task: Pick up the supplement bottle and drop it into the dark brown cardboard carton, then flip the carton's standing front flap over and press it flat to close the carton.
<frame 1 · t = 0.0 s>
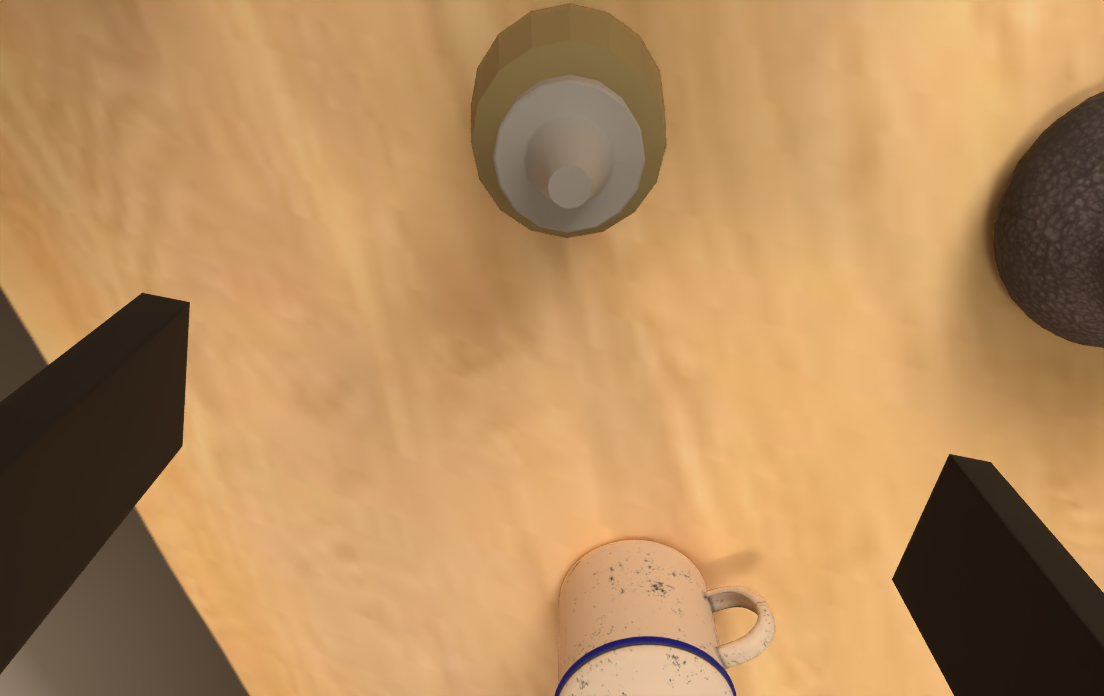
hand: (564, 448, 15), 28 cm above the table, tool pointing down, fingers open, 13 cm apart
teacup with lid: (655, 586, 51), on the table
squeeze bottle: (567, 95, 40), on the table
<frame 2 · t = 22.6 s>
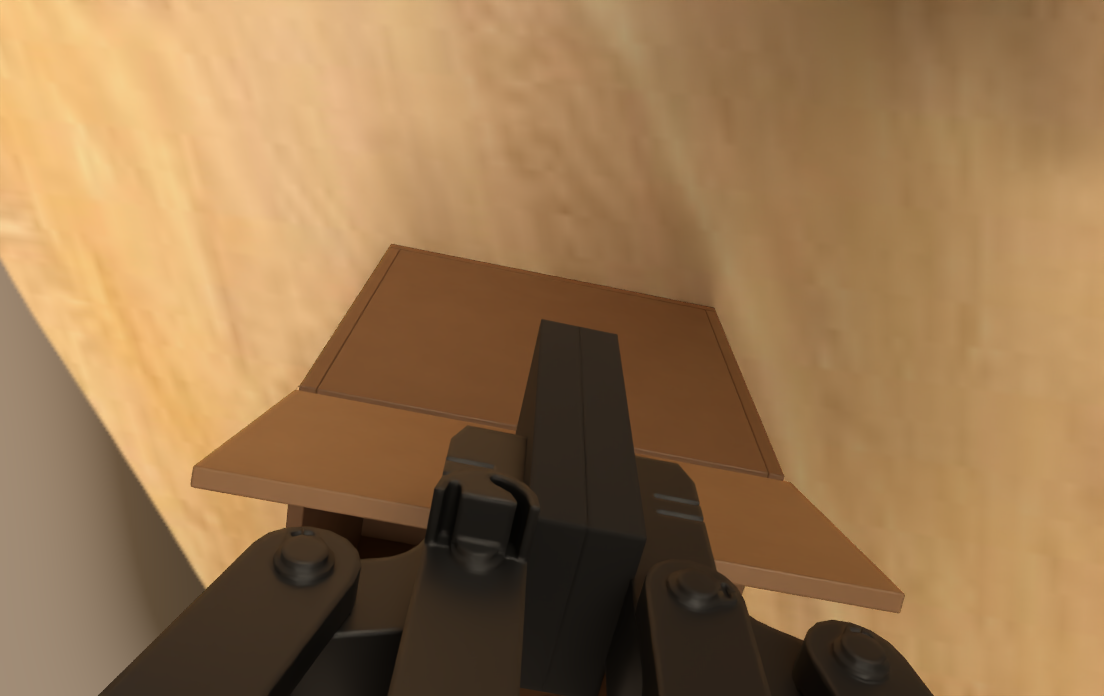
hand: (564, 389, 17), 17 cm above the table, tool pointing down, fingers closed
flap: (550, 484, 19), point 16 cm above the table, hinge at 105.5°, touching gripper
carton: (521, 428, 37), on the table
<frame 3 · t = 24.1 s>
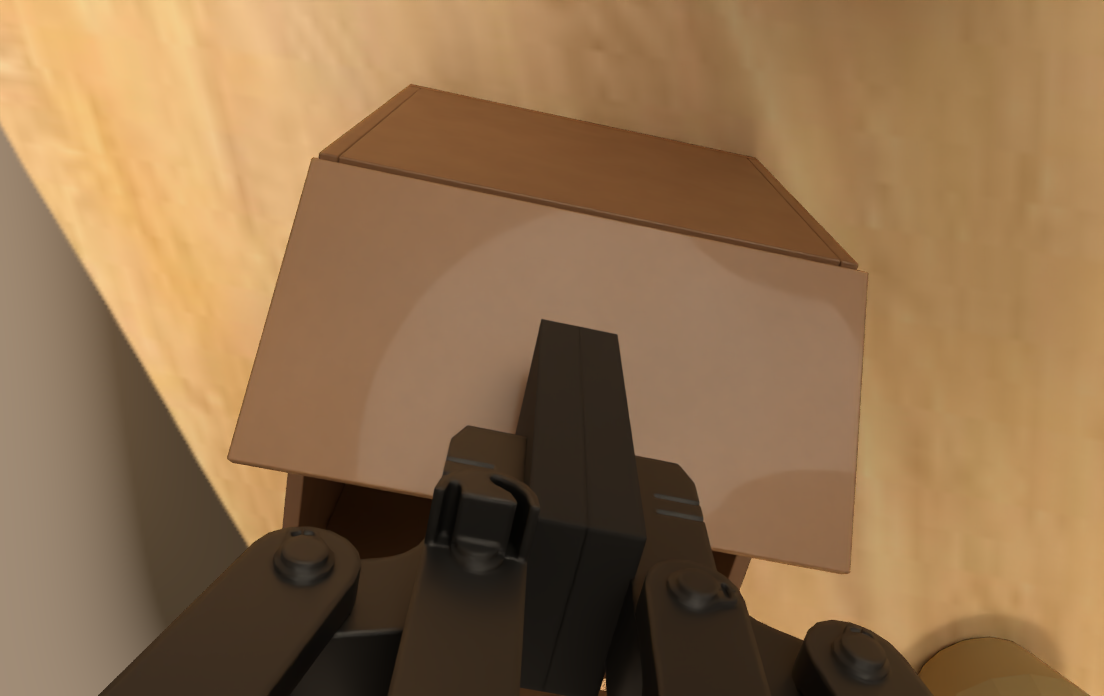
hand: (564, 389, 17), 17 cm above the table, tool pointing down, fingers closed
flap: (571, 360, 19), point 15 cm above the table, hinge at 40.9°, touching gripper
squeeze bottle: (972, 678, 42), on the table
carton: (547, 297, 35), on the table
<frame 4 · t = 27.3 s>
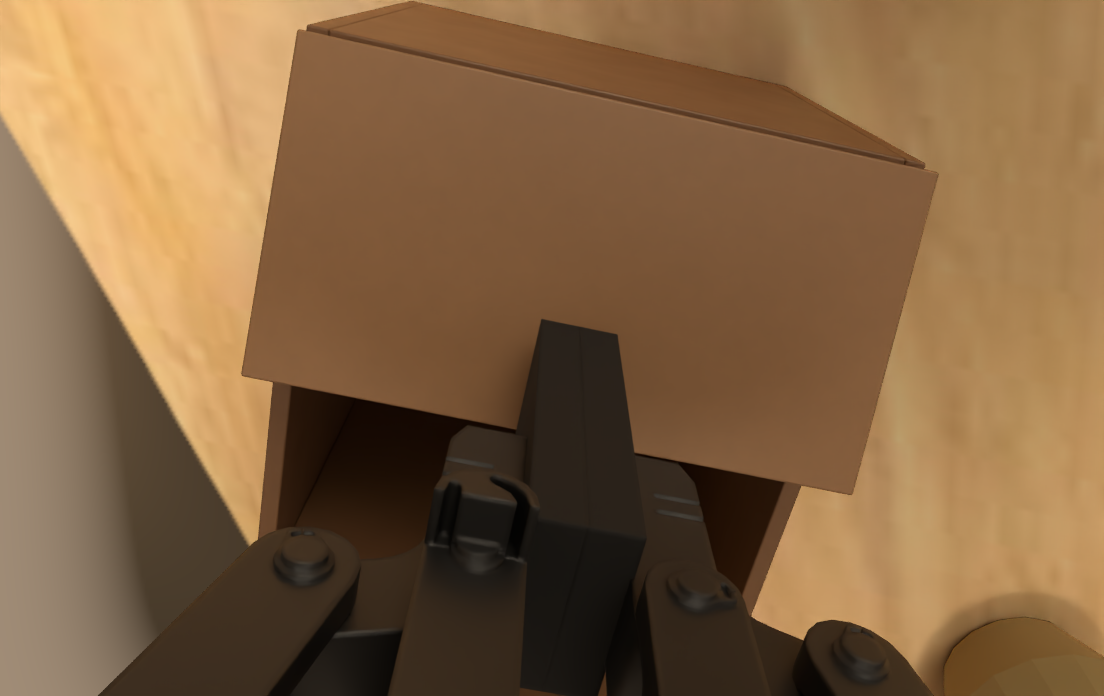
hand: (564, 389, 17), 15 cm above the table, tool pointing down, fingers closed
flap: (588, 273, 18), point 14 cm above the table, hinge at 15.3°, touching gripper
squeeze bottle: (1005, 662, 40), on the table
carton: (557, 241, 32), on the table
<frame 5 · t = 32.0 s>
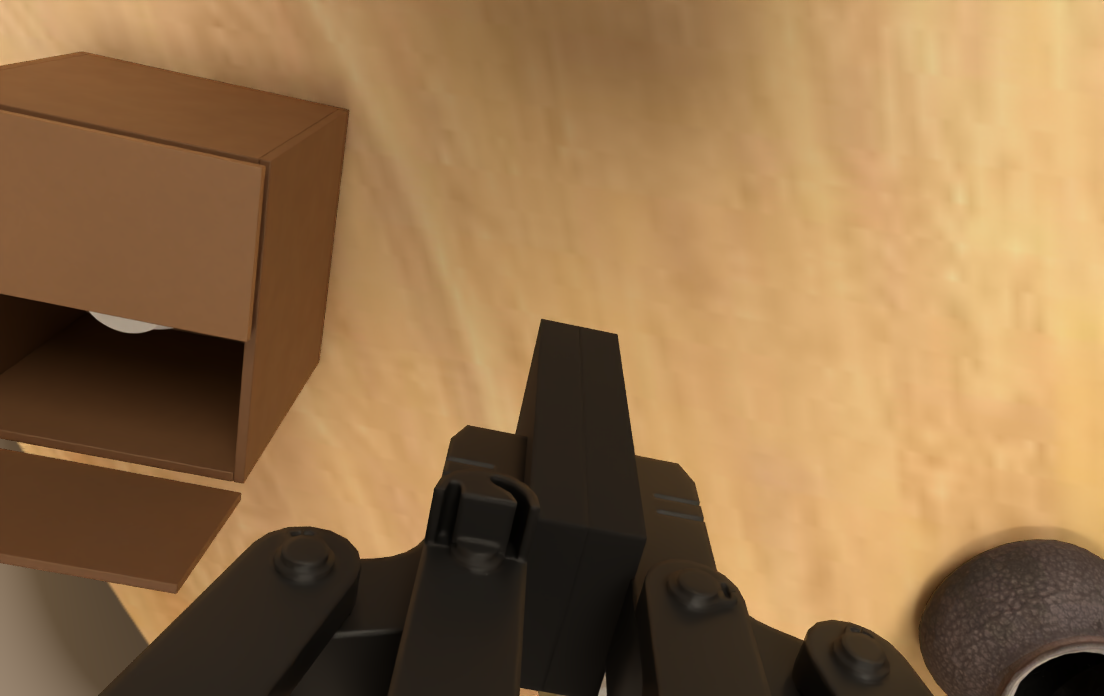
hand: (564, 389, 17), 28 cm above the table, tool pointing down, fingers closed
supplement bottle: (216, 220, 45), resting on carton
flap: (79, 221, 32), point 13 cm above the table, hinge at 1.0°
teapot: (1066, 610, 55), on the table
carton: (208, 217, 45), on the table
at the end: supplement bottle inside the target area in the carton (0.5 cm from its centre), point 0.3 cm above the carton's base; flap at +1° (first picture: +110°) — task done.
